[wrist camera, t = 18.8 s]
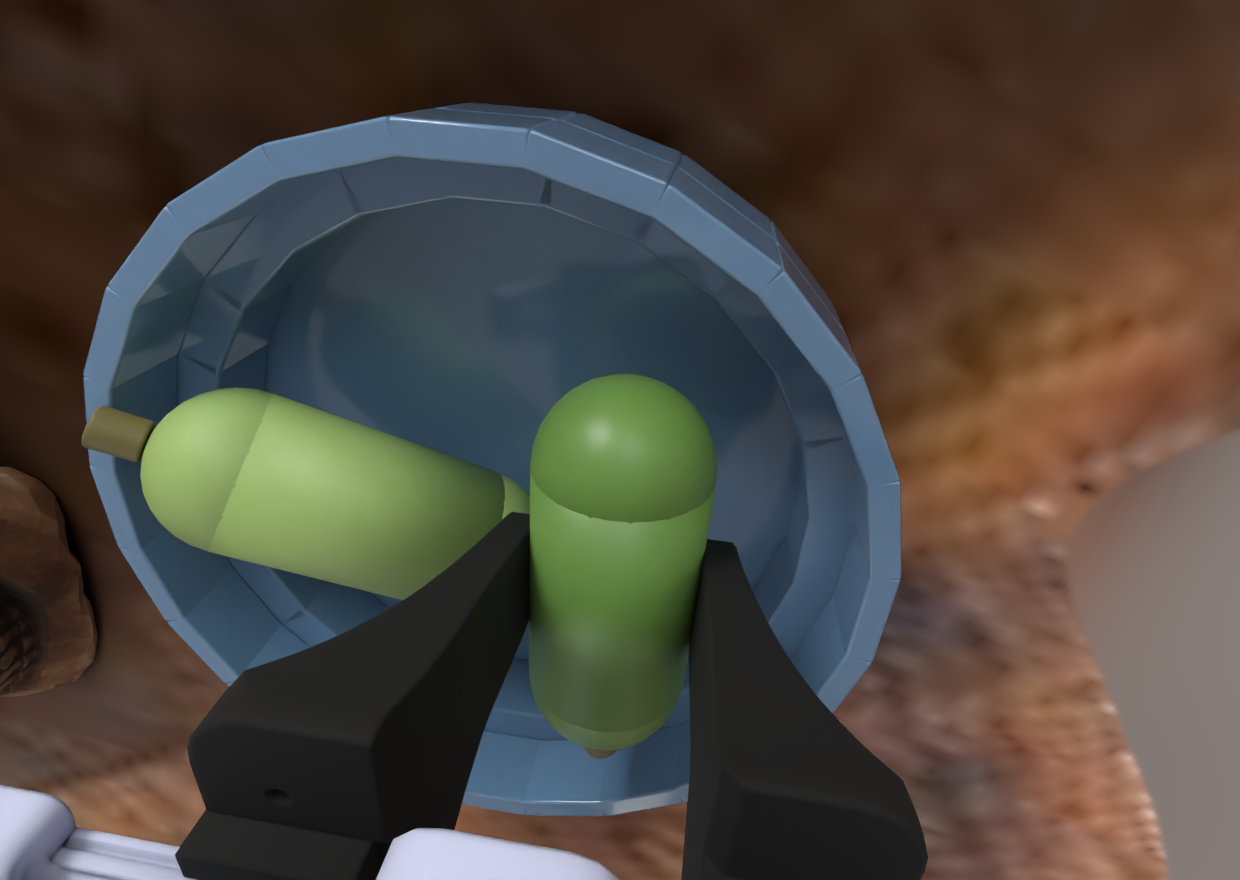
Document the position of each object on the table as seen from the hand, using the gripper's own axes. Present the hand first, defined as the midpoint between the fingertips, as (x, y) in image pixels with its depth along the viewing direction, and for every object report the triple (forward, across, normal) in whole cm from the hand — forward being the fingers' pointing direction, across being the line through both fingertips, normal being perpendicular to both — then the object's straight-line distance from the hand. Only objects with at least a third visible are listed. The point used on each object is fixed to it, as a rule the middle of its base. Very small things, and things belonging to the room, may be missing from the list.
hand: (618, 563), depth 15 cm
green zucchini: (+1, 0, 0) cm, 1 cm away
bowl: (+4, +3, 0) cm, 5 cm away
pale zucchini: (+2, +7, 0) cm, 7 cm away
